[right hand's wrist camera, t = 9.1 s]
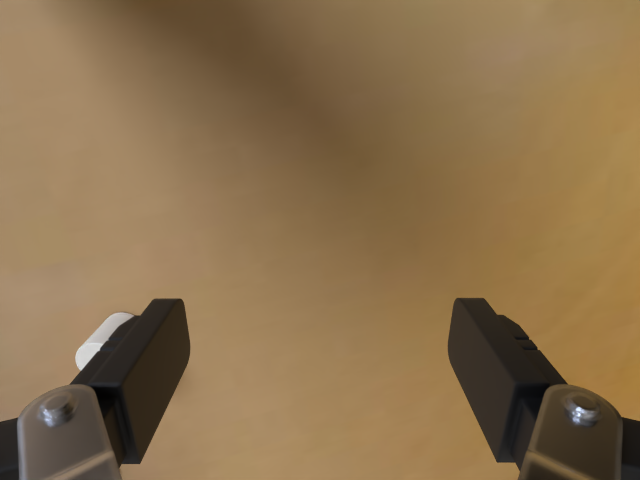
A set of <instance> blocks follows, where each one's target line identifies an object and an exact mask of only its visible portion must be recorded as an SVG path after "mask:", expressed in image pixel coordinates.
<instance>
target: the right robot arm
mask: <svg viewBox="0 0 640 480" xmlns="http://www.w3.org/2000/svg"><path fill="white" fill-rule="evenodd" d="M448 355H449V360H450V363H451V365H452V368H453V370H454V372H455V374H456V376H457V378H458V380H459V382H460V385H461V387H462V389H463V391H464V393H465V395H466V397H467V399H468V402H469V404H470V406H471V408H472V410H473V412H474V414H475V416H476V419H477V421H478V423H479V425H480V427H481V429H482V431H483V433H484V436H485V438H486V440H487V442H488V444H489V446H490V448H491V451H492V453H493V455H494V457H495V459H496V461H497V462H515V463H516V465H517V466H518V468H519V470H520V474H519V478H518V480H640V421H636V420H632V419H628V418H623V417H621V416H620V414H619V412H618V411H617V410H616V409H615V408H614V406H612V405H611V404H610V403H609V402H608V401H607V400H605V399H604V398H602V397H601V396H599V395H597V394H595V393H593V392H592V391H589V390H587V389H584V388H581V387H578V386H574V385H568V384H567V383H566V381H565V380H564V379H563V378H562V377H561V375H560V374H559V373H558V372H557V371H556V369H555V368H554V367H553V366H552V364H551V363H550V362H549V361H548V360H547V358H546V357H545V356H544V355H543V354H542V352H541V351H540V350H538V349H537V346H536V345H535V344H534V343H533V342H532V340H529V337H528V336H527V334H526V333H525V332H524V331H523V330H522V328H521V327H520V326H519V325H518V324H516V323H515V322H513V321H512V320H510V319H509V318H507V317H506V316H504V315H497V314H496V313H495V312H494V310H493V309H492V308H491V306H490V305H489V304H488V302H487V301H486V300H485V299H484V298H457V299H456V300H455V302H454V305H453V312H452V318H451V325H450V332H449V339H448ZM189 356H190V339H189V332H188V326H187V319H186V312H185V306H184V302H183V300H182V299H154V300H152V301H151V303H150V304H149V305H148V307H147V308H146V309H145V310H144V312H143V313H142V314H141V316H133V317H132V318H130V319H129V320H127V321H126V322H124V323H123V324H121V325H119V326H118V327H117V329H116V330H115V331H114V332H113V333H112V335H111V336H110V337H109V338H108V341H106V342H105V343H104V344H103V345H102V346H101V348H100V351H97V352H96V354H95V355H94V356H93V357H92V358H91V360H90V361H89V362H88V363H87V364H86V366H85V367H84V368H83V369H82V370H81V372H80V373H79V374H78V375H77V376H76V377H75V379H74V380H73V381H72V382H71V383H70V385H66V386H62V387H59V388H56V389H53V390H51V391H48V392H47V393H45V394H43V395H41V396H39V397H38V398H36V399H35V400H33V401H32V402H31V403H30V404H29V405H28V406H26V408H25V409H24V410H23V411H22V412H21V414H20V416H19V417H18V418H15V419H11V420H6V421H2V422H0V480H122V478H121V474H120V471H119V468H120V466H121V464H140V463H141V461H142V459H143V457H144V454H145V452H146V450H147V448H148V446H149V444H150V442H151V440H152V438H153V436H154V433H155V431H156V429H157V427H158V425H159V423H160V421H161V419H162V417H163V415H164V412H165V410H166V408H167V406H168V404H169V402H170V400H171V398H172V396H173V394H174V391H175V389H176V387H177V385H178V383H179V381H180V379H181V377H182V375H183V372H184V370H185V368H186V366H187V364H188V361H189Z"/></svg>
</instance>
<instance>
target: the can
mask: <svg viewBox="0 0 640 480" xmlns="http://www.w3.org/2000/svg"><path fill="white" fill-rule="evenodd" d="M133 316H134V315H132V314H129V313H123V312H121V313H115V314H112V315H111V316H109V317H108V318H107V319H106V320H105V321H104V322H103V323H102V324H101V326H100V327H99V328H98V329H97V330H96V331H95V332H94V333H93V334H92V335H91V336H90V337H89V338H88V340H87V341H86V342H85V343H84V344H83V345H82V346H81V347H80V348H79V349H78V351H77V353H76V364H77V366H78V368H79V369H80V371H81V370H82V369H83V368H84V367H85V366H86V364H87V363H88V362H89V361H90V360H91V358H92V357H93V356H94V355H95V354H96V352H97V351H100V348H101V346H102V345H103V344H104V343H105V342H106V341H108V338H109V337H110V336H111V335H112V333H113V332H114V331H115V330H116V329H117V327H118V326H119V325H121V324H123V323H124V322H126V321H127V320H129V319H130V318H132V317H133Z"/></svg>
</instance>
